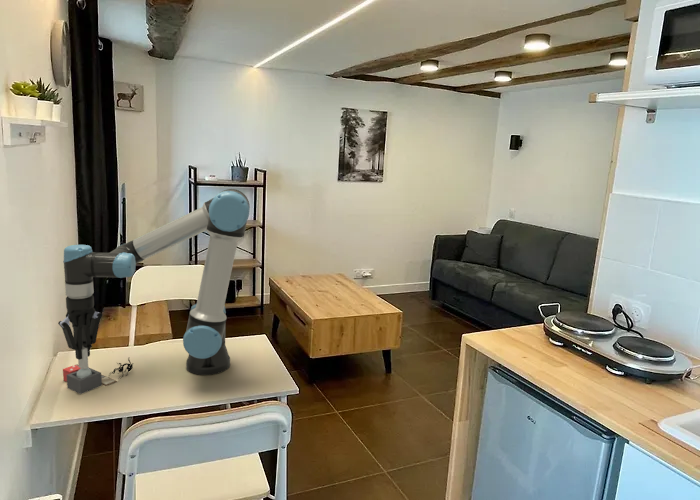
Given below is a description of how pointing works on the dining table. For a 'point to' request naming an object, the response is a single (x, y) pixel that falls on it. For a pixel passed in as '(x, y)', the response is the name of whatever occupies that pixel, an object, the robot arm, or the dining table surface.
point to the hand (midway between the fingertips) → (83, 367)
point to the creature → (123, 368)
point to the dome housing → (84, 382)
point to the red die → (69, 371)
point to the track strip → (106, 380)
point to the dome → (84, 373)
